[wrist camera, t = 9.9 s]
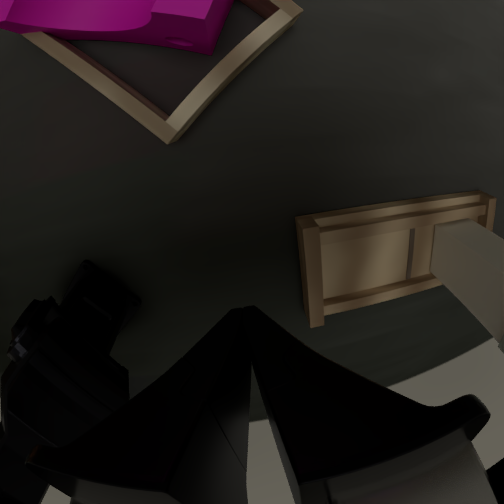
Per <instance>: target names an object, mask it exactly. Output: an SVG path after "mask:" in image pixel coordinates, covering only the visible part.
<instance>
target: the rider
mask: <svg viewBox="0 0 504 504" xmlns="http://www.w3.org/2000/svg"><path fill="white" fill-rule="evenodd" d="M430 272H431V273H432V274H433V275H434V276H435V277H437V278H438V279H439V280H440V281H441V282H442V283H443V284H444V285H445V286H446V287H447V288H448V289H449V290H450V291H451V292H452V293H453V294H454V295H455V296H456V297H457V298H458V299H459V300H460V301H461V302H462V303H463V304H464V305H465V306H466V307H467V308H468V310H469V311H470V312H471V313H472V314H473V315H474V316H475V317H476V318H477V319H478V320H479V321H480V322H481V324H482V325H483V326H484V327H485V328H486V329H487V330H488V331H489V332H490V334H491V335H492V336H493V337H494V338H495V339H496V340H497V342H498V343H499V345H498V347H499V348H500V350H501V351H502V352H503V353H504V240H503V239H502V238H500V237H499V236H497V235H496V234H494V233H493V232H491V231H489V230H488V229H486V228H485V227H483V226H481V225H480V224H478V223H476V222H475V221H473V220H471V219H470V218H465V219H460V220H455V221H449V222H444V223H439V224H435V233H434V243H433V251H432V259H431V266H430Z"/></svg>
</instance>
